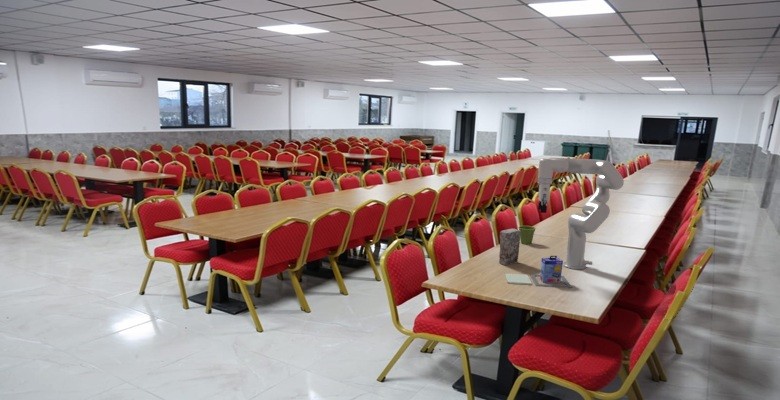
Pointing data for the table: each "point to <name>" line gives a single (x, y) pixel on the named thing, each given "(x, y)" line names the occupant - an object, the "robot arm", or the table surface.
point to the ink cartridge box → (551, 270)
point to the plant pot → (526, 234)
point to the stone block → (509, 246)
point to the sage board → (518, 279)
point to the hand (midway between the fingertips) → (542, 211)
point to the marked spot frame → (550, 285)
